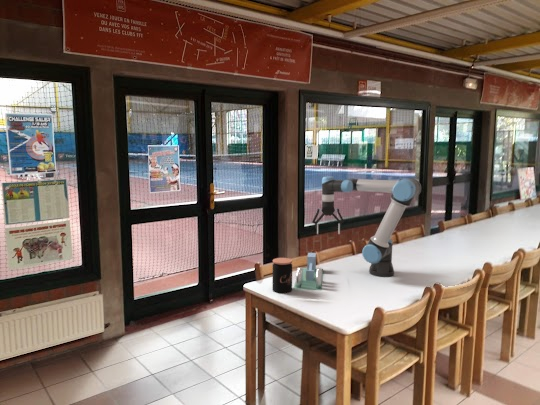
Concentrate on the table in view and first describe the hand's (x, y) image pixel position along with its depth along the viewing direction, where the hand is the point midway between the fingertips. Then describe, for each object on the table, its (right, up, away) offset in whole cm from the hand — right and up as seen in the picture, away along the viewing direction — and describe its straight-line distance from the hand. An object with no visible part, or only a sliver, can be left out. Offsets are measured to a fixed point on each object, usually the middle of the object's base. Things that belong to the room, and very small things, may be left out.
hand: (328, 233), depth 266 cm
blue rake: (-12, -24, -10) cm, 29 cm away
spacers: (-15, -27, -29) cm, 42 cm away
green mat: (-14, -26, -18) cm, 34 cm away
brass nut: (-14, -25, -19) cm, 34 cm away
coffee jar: (-31, -29, -38) cm, 57 cm away
